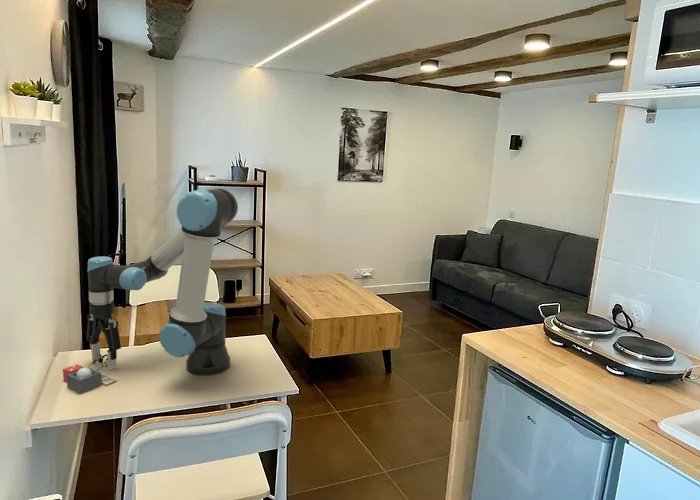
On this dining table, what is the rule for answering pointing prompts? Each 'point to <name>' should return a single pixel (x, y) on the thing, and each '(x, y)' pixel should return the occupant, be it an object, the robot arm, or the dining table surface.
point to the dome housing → (84, 382)
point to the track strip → (104, 379)
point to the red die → (69, 371)
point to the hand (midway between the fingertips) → (104, 364)
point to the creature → (101, 360)
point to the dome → (84, 372)
